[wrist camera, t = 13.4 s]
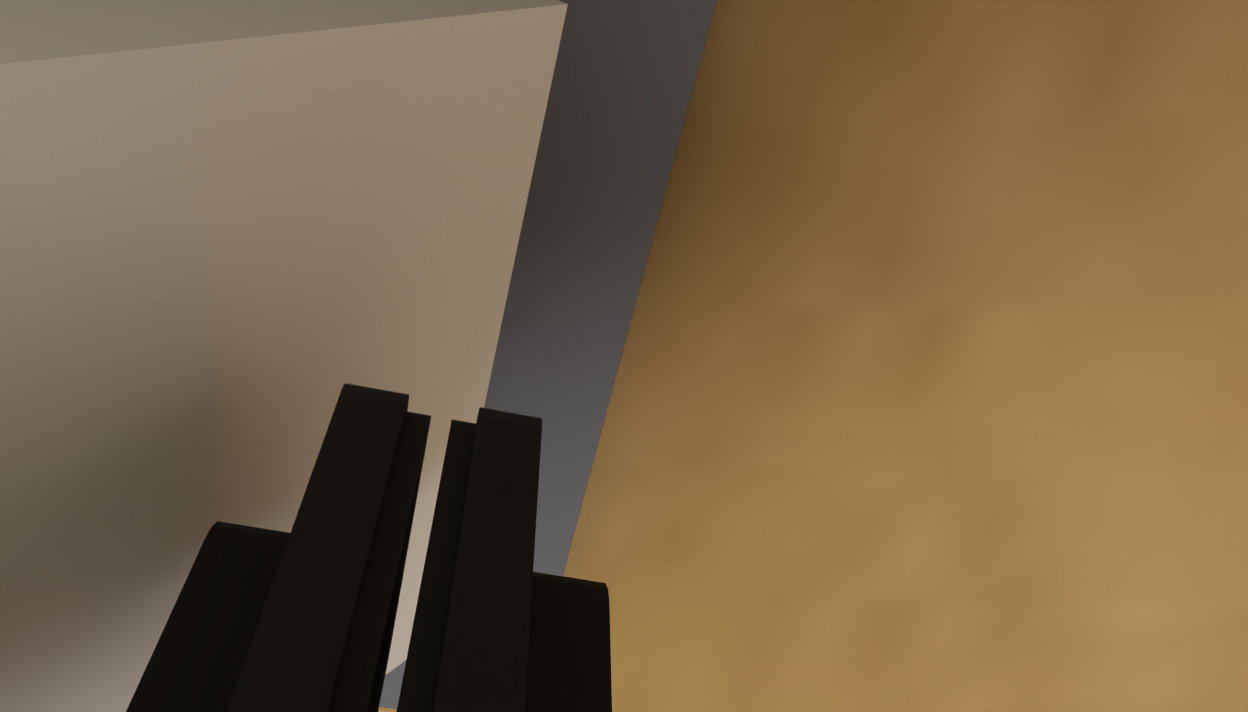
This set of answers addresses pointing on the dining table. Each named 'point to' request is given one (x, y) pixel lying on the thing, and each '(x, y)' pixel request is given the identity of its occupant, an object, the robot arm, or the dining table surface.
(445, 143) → the tile
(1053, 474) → the dining table surface
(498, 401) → the mat
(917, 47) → the dining table surface
